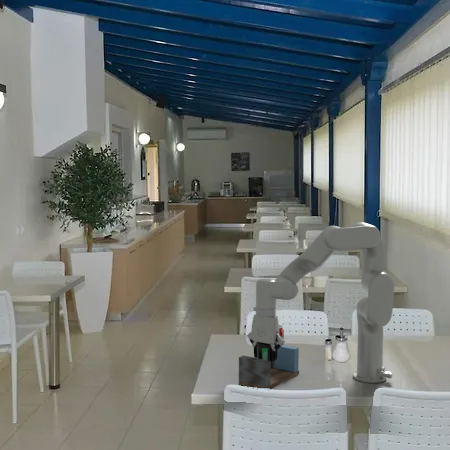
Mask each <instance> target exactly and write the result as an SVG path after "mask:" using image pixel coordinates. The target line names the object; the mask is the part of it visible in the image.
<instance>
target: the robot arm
mask: <svg viewBox="0 0 450 450" xmlns="http://www.w3.org/2000/svg"><path fill="white" fill-rule="evenodd" d="M381 237H382V235H381V232H380V230H379V229H378V228H377V226H375V225H372V224H369V223H366V222H363V221H361V222H360V221H359V222H355V223H353V225H352V226H351V227H348V226H347V227H341V226H340V227H339V226H337V225H329V226H327V227H326V228H324V229H323V230H322V231H321V232H320V234H318V236H317V237H316V238H315V239H314V240H313V241H312V242H311V244H310V245H308V247H307V248H306V249H305V250H304V251H303V252H302V253H300V255H298V256H297V257H296V258H295V259H294V260H292V261H291V262H290V263H289V264H287V266H286V267H284V269H283V270H282V271H281V272H280V273H279V275H278V276H277V277H276V279H275V280H274V279H272V278H260V279H257V281H256V282H255V307H253V311H255V314H253V318H252V322H251V331H250V332H249V333H248V334H247V338H248V340H249V342H250V343H251V345H252V346H251V347H253V358H257V343H258V342H260V343H265V344H270V345H271V347H272V351H271V361H275V360H277V351H278V349H279V348H280V347H281V346H282V345H283V344H284V345H285V341H286V340H285V339H284V340H283V338H282V337H281V336H280V335H279V325H280V323H279V318H278V315H277V300H283V301H291V300H293V299H295V298H296V297H297V296H298V295H299V288H298V285H297V284H299V282H300V280H302V279H303V278H304V277H305V276H306V275H308V274H309V273H312V272H315V271H317V270H319V269H320V268H322V267H323V266H324V264H325V263H326V262H327V261H328V260H329V259H330V258H331V256H333V255H334V253H336V252H337V251H338V252H346V251H348V252H349V251H357V250H361V253H362V265H361V266H362V269H361V278H360V280H361V281H360V282H361V283H360V284H361V286H362V287H361V288H362V289H364V291H365V292H367V295H365V296H363V297H361V298H360V299H359V301H358V302H357V305H356V319H357V349H356V350H357V351H356V352H357V353H356V360H357V361H356V371H354V372H353V373H352V377H353V379H354V380H356V381H359V382H362V383H369V384H377V383H382V382H384V381H387V379H392V378H393V373H392V371H387V370H386V366H384V365H383V362H384V361H383V360H384V357H383V355H384V353H383V352H384V327H385V326H387V325H388V324H389V322H390V321H391V319H392V317H393V309H394V297H395V296H394V295H395V286H394V285H395V284H394V281H393V278H392V277H391V276H390V275H389V274H388V273H387V272H386V268H387V267H386V265H387V261H386V260H387V253H386V247H385V244H384V241H383V239H382V238H381ZM278 341H279V343H278V344H277V342H278Z"/></svg>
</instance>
